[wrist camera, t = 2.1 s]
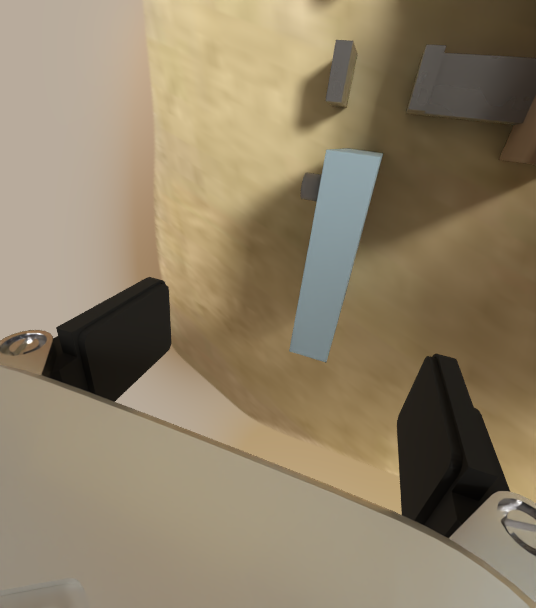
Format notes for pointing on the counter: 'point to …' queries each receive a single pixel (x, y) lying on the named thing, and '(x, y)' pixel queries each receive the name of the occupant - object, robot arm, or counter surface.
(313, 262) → the block
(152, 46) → the counter surface
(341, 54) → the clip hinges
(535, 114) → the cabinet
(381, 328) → the counter surface
